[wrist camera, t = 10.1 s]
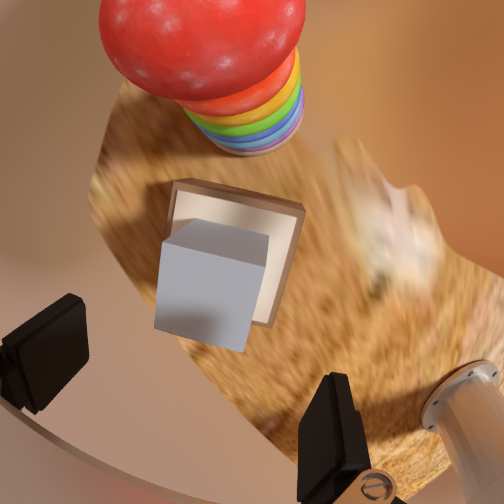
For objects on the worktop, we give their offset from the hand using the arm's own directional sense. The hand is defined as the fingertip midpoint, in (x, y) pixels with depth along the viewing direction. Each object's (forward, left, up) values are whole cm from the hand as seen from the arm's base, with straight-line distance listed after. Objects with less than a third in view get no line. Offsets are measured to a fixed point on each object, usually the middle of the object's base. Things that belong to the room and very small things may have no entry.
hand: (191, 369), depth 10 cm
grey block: (+1, 0, -11) cm, 11 cm away
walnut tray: (+1, 0, -15) cm, 15 cm away
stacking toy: (+2, -11, -15) cm, 19 cm away
